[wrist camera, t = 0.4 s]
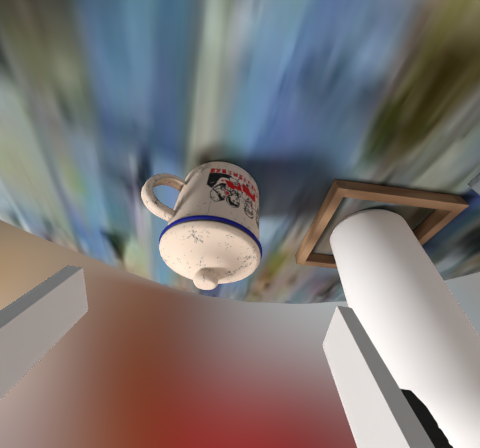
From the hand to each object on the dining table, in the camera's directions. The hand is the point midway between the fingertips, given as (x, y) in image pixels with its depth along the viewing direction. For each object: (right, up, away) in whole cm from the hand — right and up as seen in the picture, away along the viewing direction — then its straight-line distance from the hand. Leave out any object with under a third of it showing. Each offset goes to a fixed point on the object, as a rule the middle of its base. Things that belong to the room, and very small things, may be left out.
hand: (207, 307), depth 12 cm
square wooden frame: (+18, +3, +17) cm, 25 cm away
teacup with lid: (-1, +9, +14) cm, 16 cm away
